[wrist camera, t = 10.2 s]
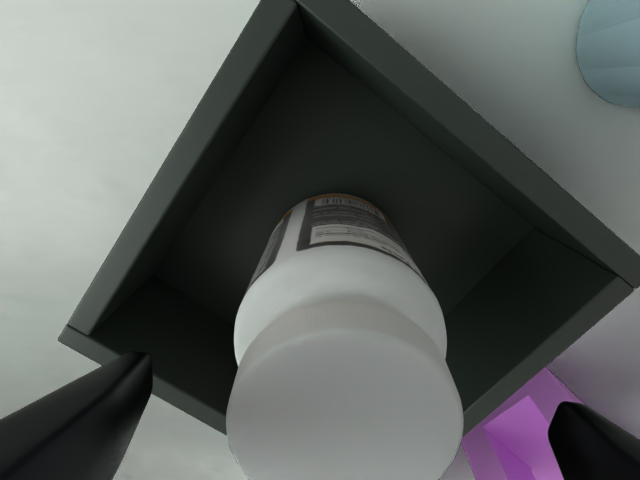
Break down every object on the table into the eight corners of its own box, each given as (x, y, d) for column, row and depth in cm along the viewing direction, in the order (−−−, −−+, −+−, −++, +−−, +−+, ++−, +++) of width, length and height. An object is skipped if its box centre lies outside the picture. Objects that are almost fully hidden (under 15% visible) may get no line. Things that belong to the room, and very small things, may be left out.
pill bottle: (324, 329, 18) (320, 572, 9) (243, 241, 16) (133, 416, 7) (424, 262, 17) (548, 460, 7) (346, 160, 15) (376, 243, 6)
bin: (359, 410, 20) (370, 517, 15) (136, 271, 18) (56, 340, 12) (552, 219, 16) (658, 271, 11) (304, 8, 14) (290, -53, 9)
